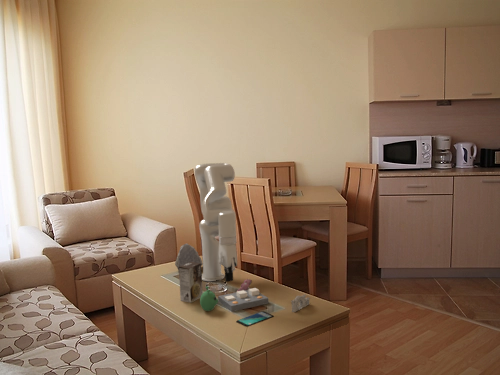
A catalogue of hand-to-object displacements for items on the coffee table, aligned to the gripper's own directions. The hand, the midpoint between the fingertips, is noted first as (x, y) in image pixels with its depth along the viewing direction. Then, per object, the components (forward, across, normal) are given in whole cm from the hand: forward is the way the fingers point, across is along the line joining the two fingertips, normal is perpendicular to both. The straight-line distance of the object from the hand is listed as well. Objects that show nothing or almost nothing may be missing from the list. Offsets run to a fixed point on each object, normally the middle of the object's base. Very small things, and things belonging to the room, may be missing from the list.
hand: (229, 280), depth 204 cm
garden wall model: (+11, +20, +24) cm, 33 cm away
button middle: (+9, 0, +6) cm, 11 cm away
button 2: (+9, 0, +12) cm, 15 cm away
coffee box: (+11, -16, -12) cm, 23 cm away
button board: (+11, +1, +6) cm, 12 cm away
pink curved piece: (+11, -11, +13) cm, 21 cm away
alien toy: (+11, +2, -10) cm, 15 cm away
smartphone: (+11, +20, +2) cm, 23 cm away
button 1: (+10, 0, 0) cm, 10 cm away
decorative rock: (+12, -60, +3) cm, 61 cm away
